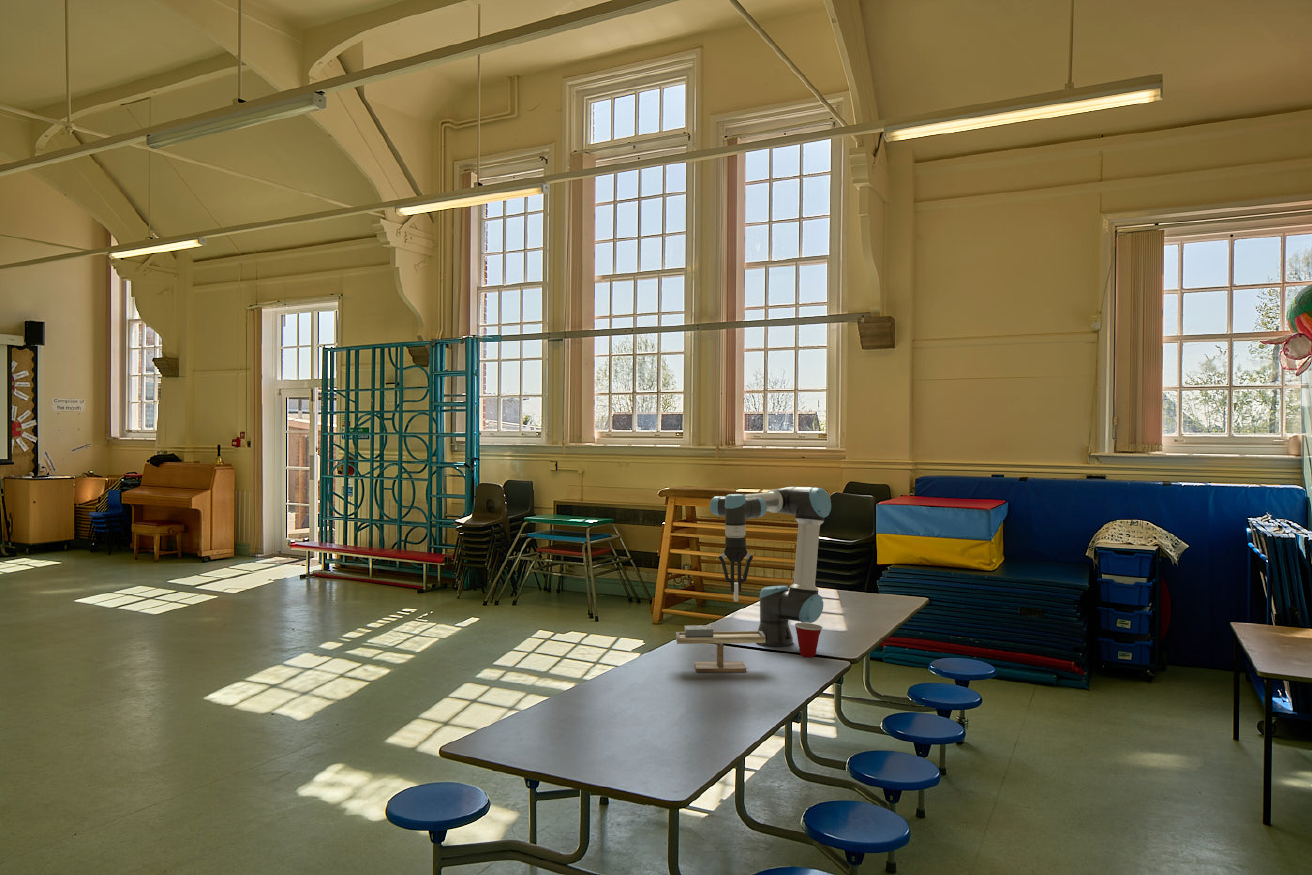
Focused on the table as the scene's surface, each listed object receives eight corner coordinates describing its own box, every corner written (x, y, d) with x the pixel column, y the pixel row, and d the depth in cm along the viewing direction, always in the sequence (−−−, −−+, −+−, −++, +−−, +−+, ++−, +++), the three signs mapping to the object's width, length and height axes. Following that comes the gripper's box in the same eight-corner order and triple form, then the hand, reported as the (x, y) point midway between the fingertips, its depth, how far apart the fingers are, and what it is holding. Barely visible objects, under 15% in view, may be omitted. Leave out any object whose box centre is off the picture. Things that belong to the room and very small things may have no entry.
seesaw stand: (694, 664, 326) (694, 640, 326) (742, 664, 327) (742, 640, 327) (696, 672, 316) (696, 647, 316) (746, 671, 317) (746, 647, 317)
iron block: (684, 634, 325) (684, 625, 325) (711, 634, 325) (711, 625, 325) (685, 639, 318) (685, 629, 318) (713, 638, 318) (713, 629, 318)
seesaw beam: (675, 640, 326) (675, 631, 326) (761, 638, 327) (761, 630, 327) (676, 646, 316) (676, 637, 316) (765, 645, 317) (765, 636, 317)
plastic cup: (825, 659, 334) (825, 627, 334) (796, 659, 335) (796, 627, 335) (820, 652, 345) (820, 621, 345) (792, 652, 346) (792, 621, 346)
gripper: (718, 537, 318) (719, 602, 318) (754, 537, 318) (755, 602, 318) (716, 535, 325) (717, 598, 325) (751, 535, 325) (752, 598, 326)
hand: (735, 600), depth 322 cm, fingers closed
